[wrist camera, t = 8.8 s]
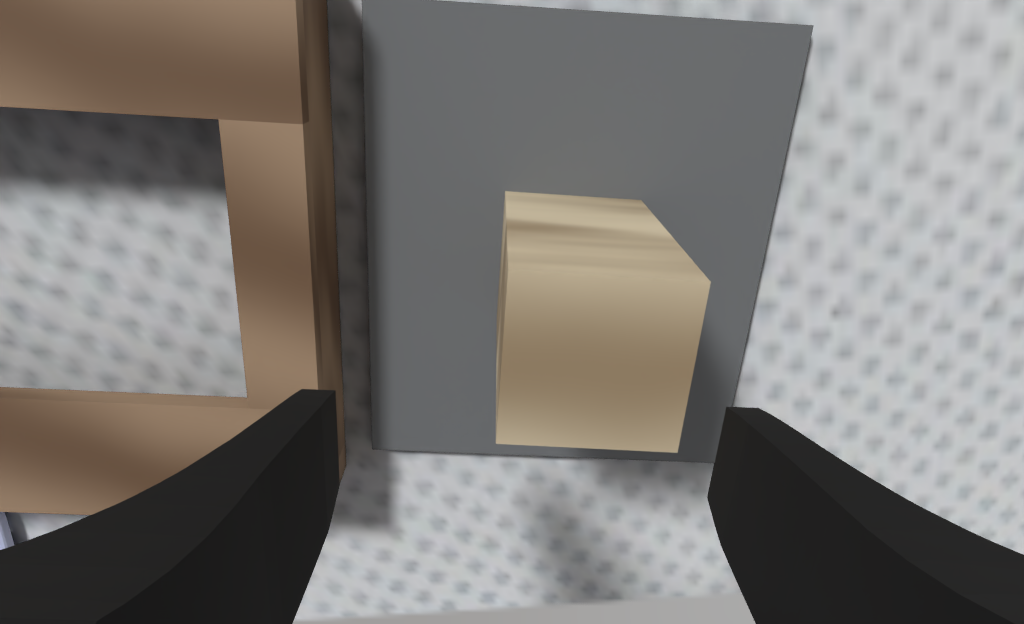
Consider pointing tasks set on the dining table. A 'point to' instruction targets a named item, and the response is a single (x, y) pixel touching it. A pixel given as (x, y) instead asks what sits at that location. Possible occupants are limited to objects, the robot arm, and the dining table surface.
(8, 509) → the wooden square frame
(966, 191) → the dining table surface
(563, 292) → the block
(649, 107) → the mat
